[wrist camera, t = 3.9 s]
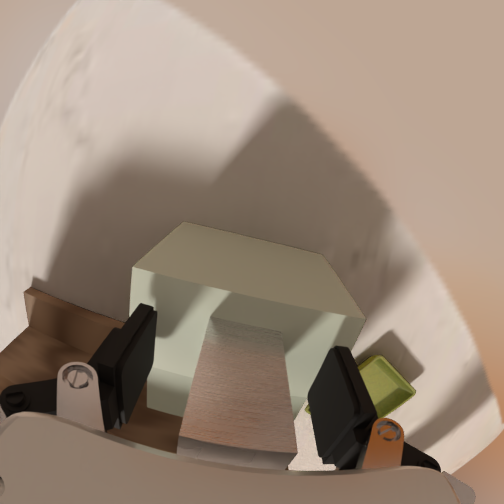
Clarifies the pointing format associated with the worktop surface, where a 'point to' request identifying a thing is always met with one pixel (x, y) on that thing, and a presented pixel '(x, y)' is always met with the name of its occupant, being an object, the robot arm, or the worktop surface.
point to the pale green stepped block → (239, 339)
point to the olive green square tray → (383, 385)
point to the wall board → (77, 350)
